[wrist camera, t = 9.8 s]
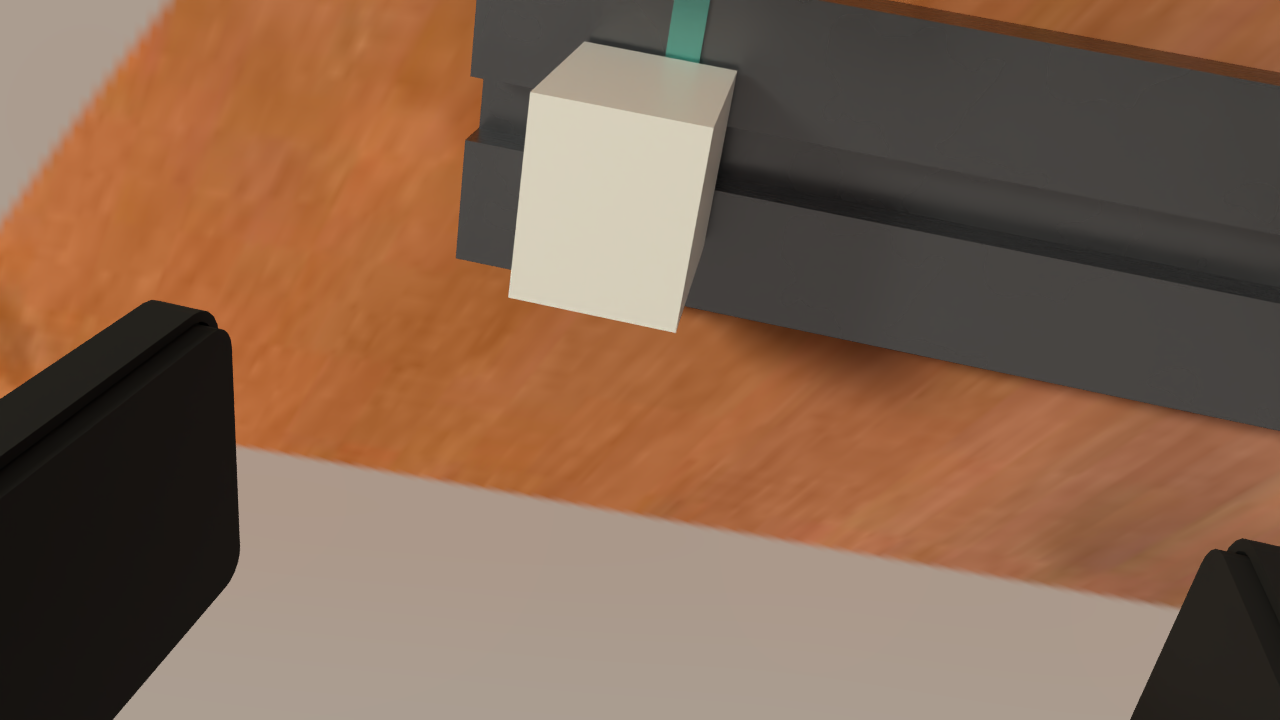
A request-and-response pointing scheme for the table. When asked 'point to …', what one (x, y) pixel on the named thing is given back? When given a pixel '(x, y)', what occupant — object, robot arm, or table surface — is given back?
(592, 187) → the fader tab
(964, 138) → the fader housing
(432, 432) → the table surface
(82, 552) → the robot arm
